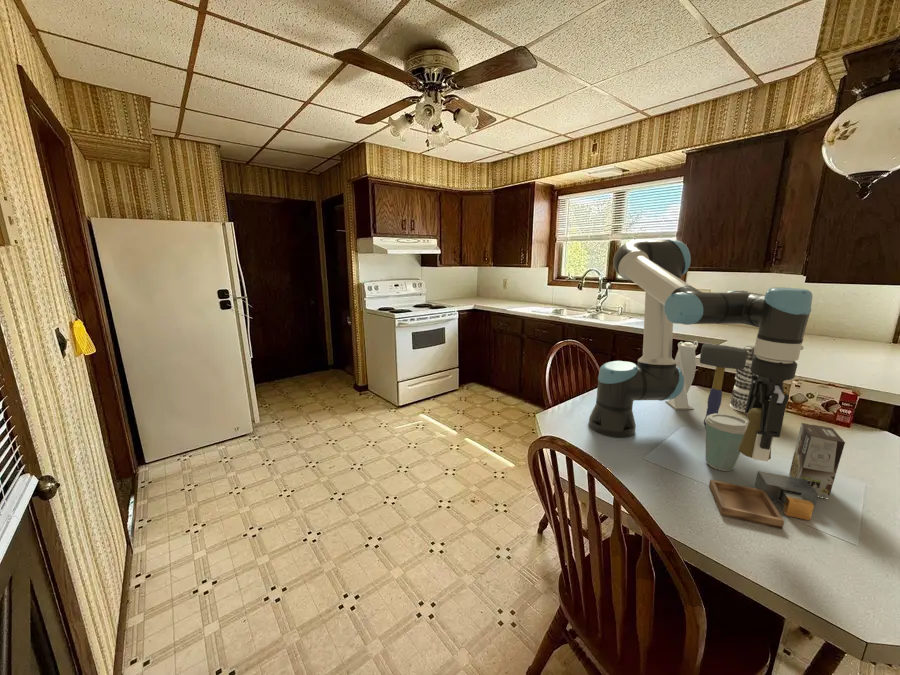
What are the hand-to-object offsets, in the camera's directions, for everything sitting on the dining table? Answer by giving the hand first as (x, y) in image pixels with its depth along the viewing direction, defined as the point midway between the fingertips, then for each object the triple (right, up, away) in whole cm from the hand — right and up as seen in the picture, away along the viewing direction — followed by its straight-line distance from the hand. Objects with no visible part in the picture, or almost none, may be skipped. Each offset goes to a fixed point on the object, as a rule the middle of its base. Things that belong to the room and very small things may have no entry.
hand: (754, 452), depth 87 cm
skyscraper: (+19, -1, +60) cm, 63 cm away
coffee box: (+23, -13, +11) cm, 29 cm away
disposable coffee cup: (+7, -10, +21) cm, 24 cm away
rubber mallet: (+20, -5, +43) cm, 48 cm away
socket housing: (+13, -14, +7) cm, 20 cm away
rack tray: (0, -15, +4) cm, 15 cm away
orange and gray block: (+12, -14, +5) cm, 19 cm away
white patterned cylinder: (+44, -1, +58) cm, 73 cm away
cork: (0, -1, 0) cm, 0 cm away
